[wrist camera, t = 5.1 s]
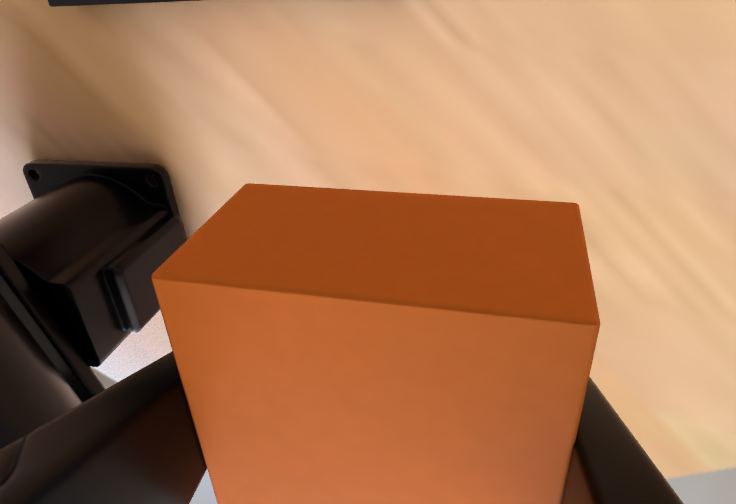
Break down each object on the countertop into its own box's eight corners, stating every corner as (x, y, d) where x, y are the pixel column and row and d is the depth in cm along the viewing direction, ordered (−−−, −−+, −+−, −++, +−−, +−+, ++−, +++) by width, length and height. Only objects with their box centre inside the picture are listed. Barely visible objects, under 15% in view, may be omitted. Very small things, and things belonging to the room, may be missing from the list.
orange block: (284, 407, 12) (223, 531, 10) (245, 181, 10) (147, 274, 7) (539, 447, 11) (542, 599, 9) (579, 201, 8) (602, 322, 6)
